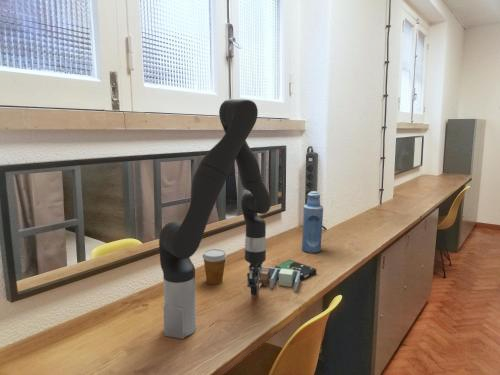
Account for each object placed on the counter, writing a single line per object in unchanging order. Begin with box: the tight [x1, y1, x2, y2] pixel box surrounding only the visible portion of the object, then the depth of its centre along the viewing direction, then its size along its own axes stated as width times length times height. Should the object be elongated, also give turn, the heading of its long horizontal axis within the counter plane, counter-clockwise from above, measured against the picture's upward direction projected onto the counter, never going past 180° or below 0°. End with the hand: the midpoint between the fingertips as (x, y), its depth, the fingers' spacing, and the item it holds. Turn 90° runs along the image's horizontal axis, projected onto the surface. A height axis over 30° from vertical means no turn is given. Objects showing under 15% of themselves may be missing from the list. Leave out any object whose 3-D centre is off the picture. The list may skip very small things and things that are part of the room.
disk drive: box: [274, 259, 317, 282], centre depth 153 cm, size 10×3×15 cm
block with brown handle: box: [250, 268, 271, 299], centre depth 136 cm, size 16×5×8 cm, turn 165°
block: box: [278, 268, 294, 287], centre depth 141 cm, size 5×5×5 cm
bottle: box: [301, 190, 324, 254], centre depth 177 cm, size 10×10×30 cm
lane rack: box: [246, 265, 301, 293], centre depth 141 cm, size 11×19×4 cm, turn 75°
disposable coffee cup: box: [202, 248, 228, 285], centre depth 141 cm, size 10×10×12 cm
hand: (254, 292), depth 130 cm, fingers closed on block with brown handle, 2 cm apart
